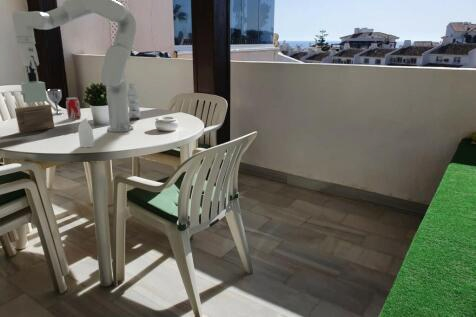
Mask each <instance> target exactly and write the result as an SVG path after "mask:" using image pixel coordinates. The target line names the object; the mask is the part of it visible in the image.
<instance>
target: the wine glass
mask: <svg viewBox="0 0 476 317" xmlns="http://www.w3.org/2000/svg"><path fill="white" fill-rule="evenodd" d="M46 95H47V98H48V99H49V101H50V102H52V104H54V106H55V109H56V110H55V111H56V112H55V113H52V115H53V116H61V115H64V114H65V113H63V112H59V108H58V107H59V106H58V105H59V103H60V101H61V100H62V96H63V95H62V89H60V88H53V89H52V88H51V89H50V88H49V89H47V90H46Z"/></svg>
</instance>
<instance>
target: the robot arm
mask: <svg viewBox="0 0 476 317" xmlns="http://www.w3.org/2000/svg"><path fill="white" fill-rule="evenodd" d="M92 14H96V15H98V16H100V17H103V18H104V19H107V20H109V21H111V22H114V23H116V24H117V29H116V32H115V35H114V36H115V37H114V41H113V44H111V45H110V46H109V47H108V48H107V50H106V52H105V57H104V59H103V64H102V67H101V72H100V80H101V82H102V84H103V85H104V86H105V88H106V99H107V100H106V101H107V109H108V110H107V111H108V117H109V119H108V120H109V126H108V127H107V132H111V133H124V132H128V131H129V132H130V131H132V130H134V126H133V125H132V124H130V117H129V101H128V95H127V92H128V90H127V76H126V73H125V69H126V65H127V63H128V62H129V61H130V59H131V53H132V49H133V46H134V40H135V38H136V33H137V22H136V18H135V16H134V14H133V13H132V12H131V11H130V9H129V8H128V7H126V5H124V4H123V3H120V2H118V1H116V0H64V1H63V2H62V3H61V5H60V6H58V7H56V8H54V9H51V10H49V11H45V12H44V11H39V10H38V11H37V10H36V11H35V10H34V11H18V10H17V11H12V14H11V17H12V23H13V29H14V36H15V41H16V44H17V45H18V46H19V56H20V60H21V64H22V66H24V68H25V72H29V73H28V77H29V81H30V82H31V81H37V79H36V73H35V72H36V67H39V65H40V62H39V57H38V51H37V48H36V44H37V42H36V38H35V31H34V29H35V30H36V29H37V30H52V29H54V28H57V27H60V26H64V25H66V24H68V23H71V22H73V21H75V20H77V19H78V20H79V19H81V18H83V17H86V16H89V15H92Z"/></svg>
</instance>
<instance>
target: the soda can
mask: <svg viewBox="0 0 476 317" xmlns="http://www.w3.org/2000/svg"><path fill="white" fill-rule="evenodd" d="M65 107H66V112H67V117H68V119H70V120H80V118H81V117H82V113H81V107H80V101H79V99H78V97H76V96H74V97H66V100H65Z"/></svg>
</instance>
